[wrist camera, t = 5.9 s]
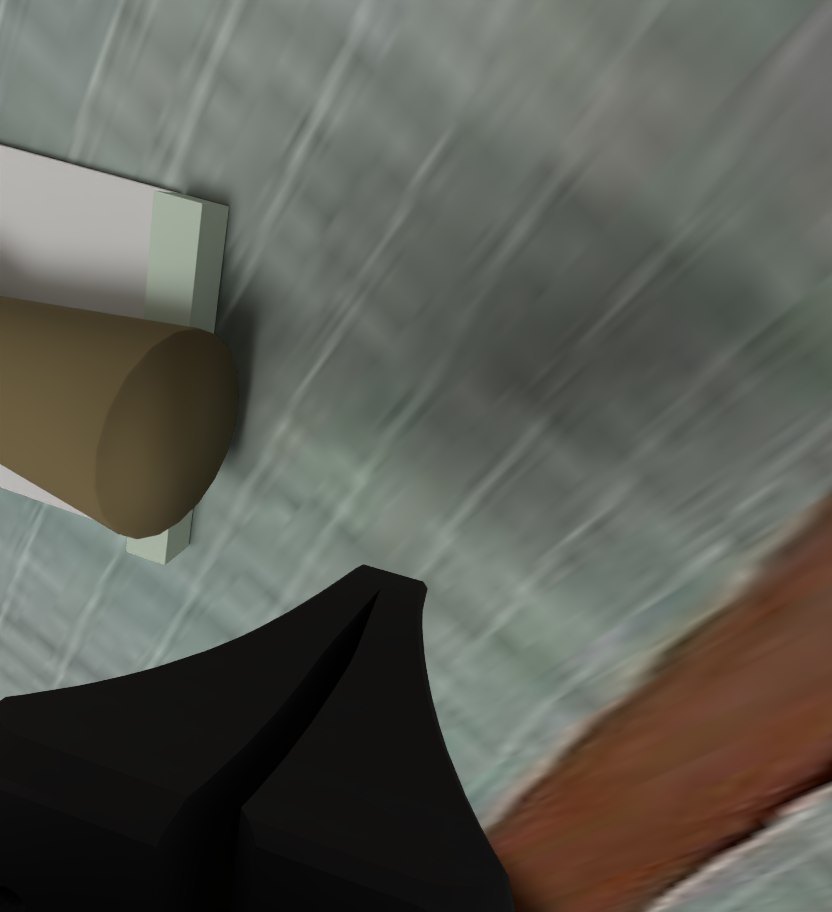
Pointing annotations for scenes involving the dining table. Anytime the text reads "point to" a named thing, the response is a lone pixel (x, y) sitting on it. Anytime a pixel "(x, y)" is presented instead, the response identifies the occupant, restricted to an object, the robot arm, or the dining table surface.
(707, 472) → the dining table surface
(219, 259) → the kerb
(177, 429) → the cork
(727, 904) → the dining table surface
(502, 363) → the dining table surface
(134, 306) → the mat
